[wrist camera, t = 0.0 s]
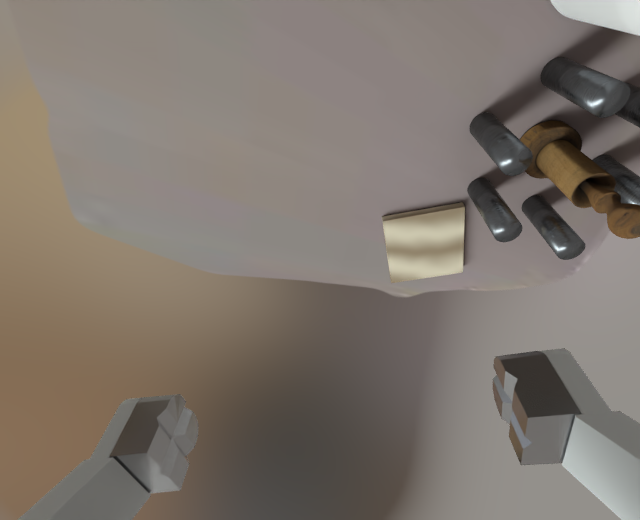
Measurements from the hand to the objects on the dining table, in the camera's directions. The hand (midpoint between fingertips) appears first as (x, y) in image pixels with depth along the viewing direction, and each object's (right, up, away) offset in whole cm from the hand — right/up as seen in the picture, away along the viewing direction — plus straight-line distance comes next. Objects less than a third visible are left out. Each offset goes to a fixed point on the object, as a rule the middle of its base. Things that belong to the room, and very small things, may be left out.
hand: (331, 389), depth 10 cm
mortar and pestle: (+27, +17, +36) cm, 48 cm away
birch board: (+15, +6, +45) cm, 48 cm away
